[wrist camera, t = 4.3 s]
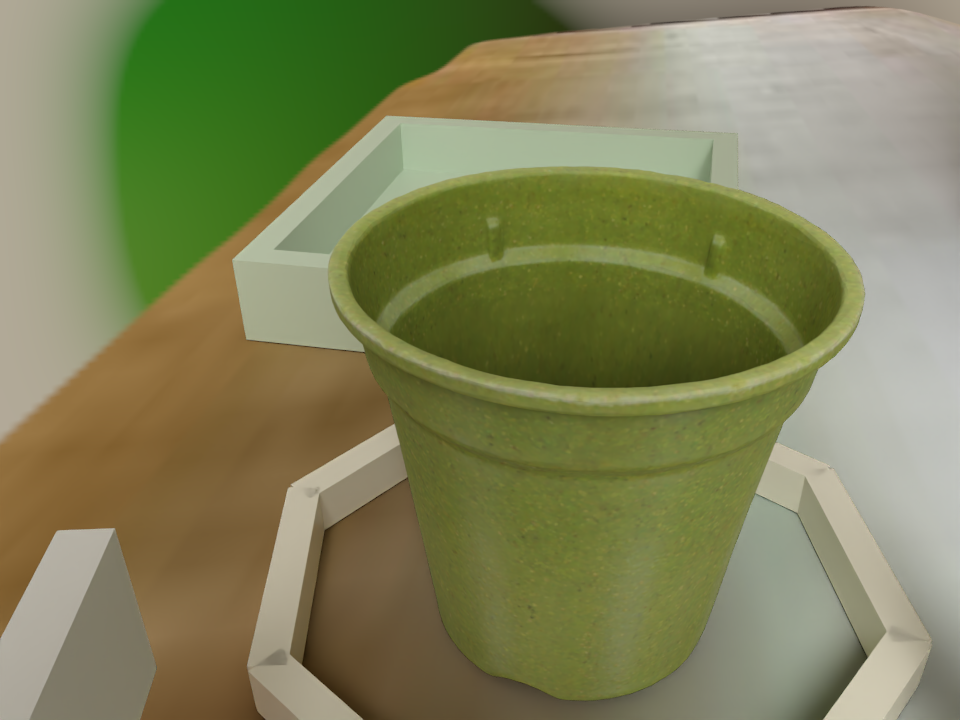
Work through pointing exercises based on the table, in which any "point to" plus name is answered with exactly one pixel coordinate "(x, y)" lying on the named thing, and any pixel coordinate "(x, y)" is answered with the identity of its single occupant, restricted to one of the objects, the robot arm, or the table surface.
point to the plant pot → (587, 399)
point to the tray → (418, 163)
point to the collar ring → (786, 481)
